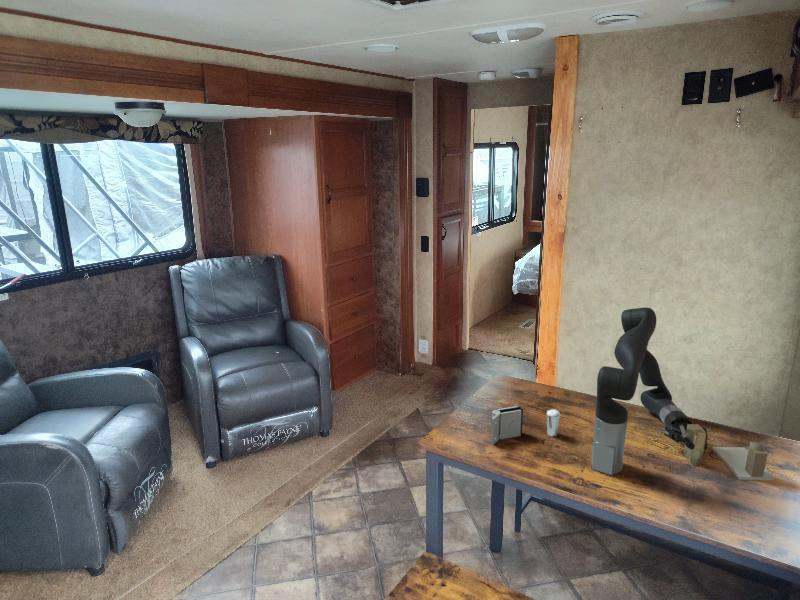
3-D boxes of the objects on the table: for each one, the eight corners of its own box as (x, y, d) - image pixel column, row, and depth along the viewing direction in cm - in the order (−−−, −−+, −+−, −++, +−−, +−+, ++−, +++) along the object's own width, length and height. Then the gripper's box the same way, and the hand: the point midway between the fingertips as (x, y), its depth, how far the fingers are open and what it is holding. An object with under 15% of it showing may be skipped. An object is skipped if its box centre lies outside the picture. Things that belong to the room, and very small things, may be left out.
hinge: (492, 445, 182) (492, 419, 179) (482, 438, 187) (483, 412, 184) (523, 435, 188) (524, 409, 185) (514, 428, 193) (514, 403, 190)
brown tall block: (683, 454, 174) (687, 424, 171) (693, 454, 174) (698, 424, 171) (692, 466, 168) (697, 435, 165) (703, 466, 168) (708, 435, 164)
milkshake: (546, 428, 192) (548, 403, 189) (560, 433, 188) (562, 408, 186) (541, 434, 188) (542, 408, 186) (555, 438, 185) (557, 413, 182)
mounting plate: (712, 449, 176) (716, 422, 173) (743, 450, 176) (748, 422, 173) (739, 479, 160) (744, 450, 158) (774, 480, 160) (780, 451, 157)
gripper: (655, 410, 183) (677, 436, 167) (697, 410, 182) (723, 436, 166) (652, 429, 185) (674, 457, 169) (694, 429, 184) (720, 457, 168)
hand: (698, 447), depth 167 cm, fingers closed on brown tall block, 3 cm apart
